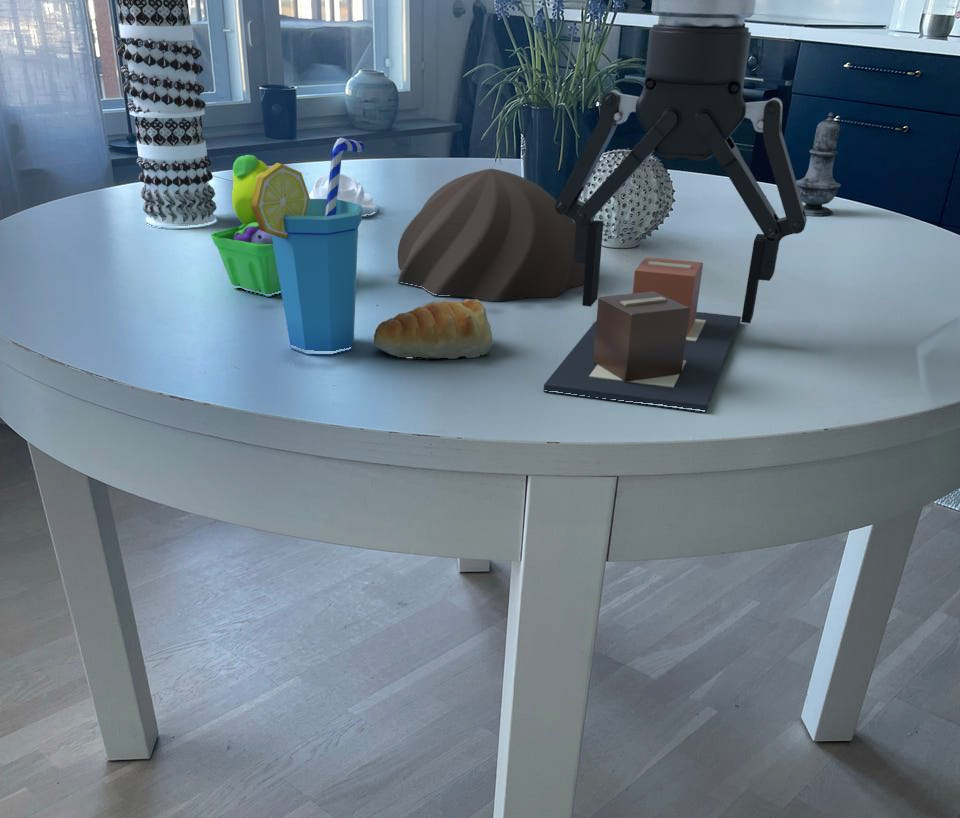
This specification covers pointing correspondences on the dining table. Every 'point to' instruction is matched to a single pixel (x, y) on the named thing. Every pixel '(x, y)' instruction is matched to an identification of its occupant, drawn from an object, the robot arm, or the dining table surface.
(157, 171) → the bracelet display cylinder
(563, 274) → the decorative dome
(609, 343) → the letter block
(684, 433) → the dining table surface
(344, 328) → the cup
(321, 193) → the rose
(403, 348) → the pastry
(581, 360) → the word mat
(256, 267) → the fruit basket
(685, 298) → the letter block
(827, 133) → the salt shaker
